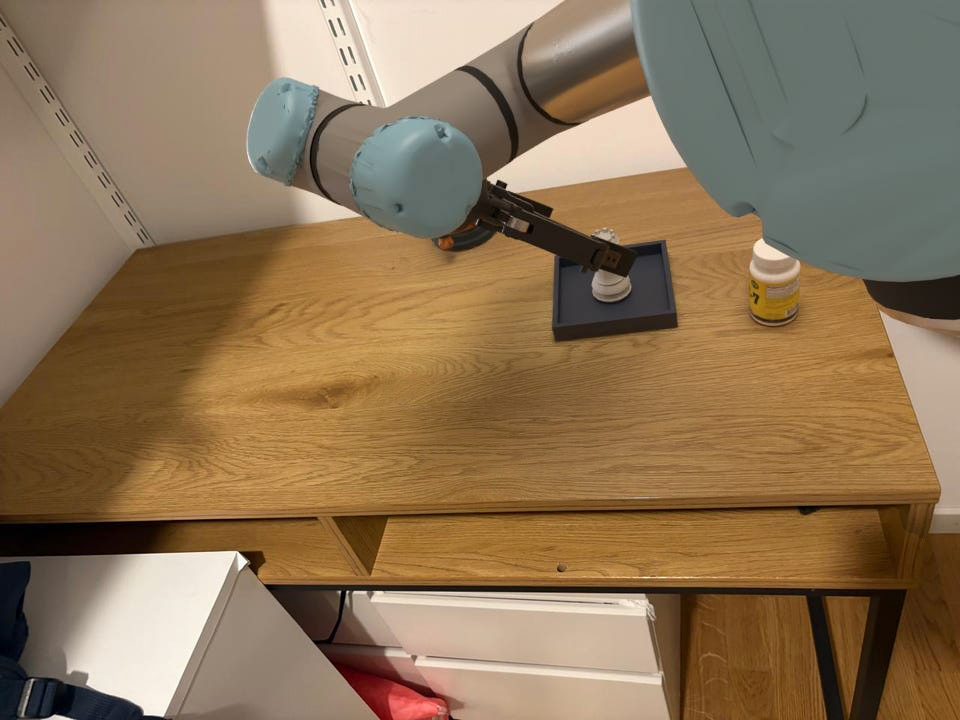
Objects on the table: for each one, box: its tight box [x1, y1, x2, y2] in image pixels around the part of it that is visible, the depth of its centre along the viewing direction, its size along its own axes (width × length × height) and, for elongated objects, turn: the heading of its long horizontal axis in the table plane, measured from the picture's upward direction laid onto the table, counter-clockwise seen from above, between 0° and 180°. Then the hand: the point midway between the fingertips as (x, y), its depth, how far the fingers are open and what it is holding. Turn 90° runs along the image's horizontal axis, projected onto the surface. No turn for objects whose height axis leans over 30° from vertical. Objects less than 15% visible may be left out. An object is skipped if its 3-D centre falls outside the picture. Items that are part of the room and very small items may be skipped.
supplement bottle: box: [748, 237, 801, 327], centre depth 74 cm, size 5×5×8 cm
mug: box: [431, 220, 497, 252], centre depth 98 cm, size 13×10×12 cm
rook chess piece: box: [591, 227, 632, 303], centre depth 82 cm, size 4×4×8 cm
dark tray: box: [551, 239, 679, 342], centre depth 85 cm, size 13×13×2 cm
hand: (585, 240), depth 78 cm, fingers open, 13 cm apart
